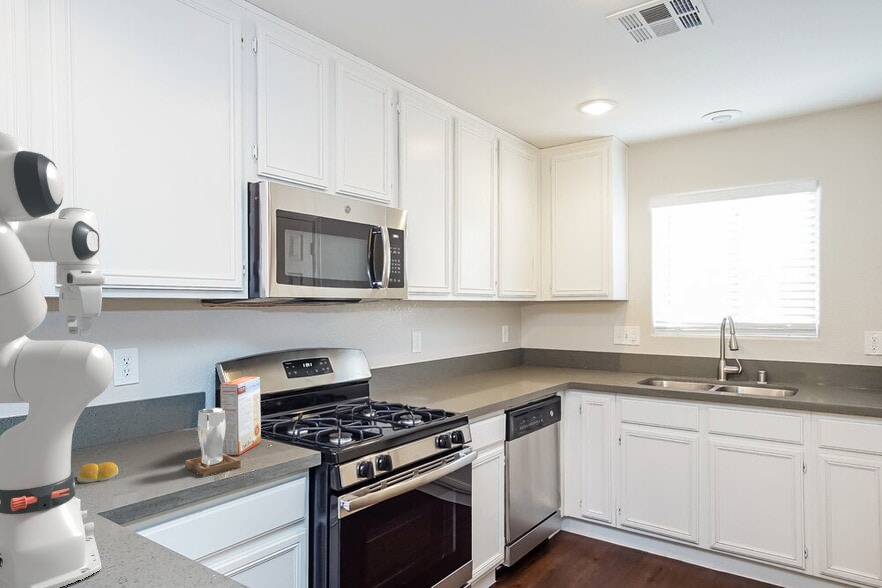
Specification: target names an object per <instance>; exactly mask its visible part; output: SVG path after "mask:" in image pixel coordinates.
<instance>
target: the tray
mask: <svg viewBox="0 0 882 588" xmlns="http://www.w3.org/2000/svg"><path fill="white" fill-rule="evenodd" d="M223 459H224V464H220V465H215V466H211V467H207V468H205V467H203V466H200V463H201V456H199V457H195V458H190V459H186V460H184V461H185V462H184V466H185V469H187V470H188V471H191V472H193V473H195V474H197V473H198V474H197V475H199V474H200V475H199V476H201V475H202V476H201V477H203V476H206V477H208V476H207V475H210V476H212V475H211V474H214V475H216V474H215V473H218V474H220V473H219V472H222V473H225V472H224V471H226V472H229V471H228V470H230V471H233V470H232V469H234V470H238V469H241V467H242V466H241V465H242V463H241V460H240V459H238V458H236V457H233V456H232V455H226V454H224V453H223ZM237 468H238V469H237Z"/></svg>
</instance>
